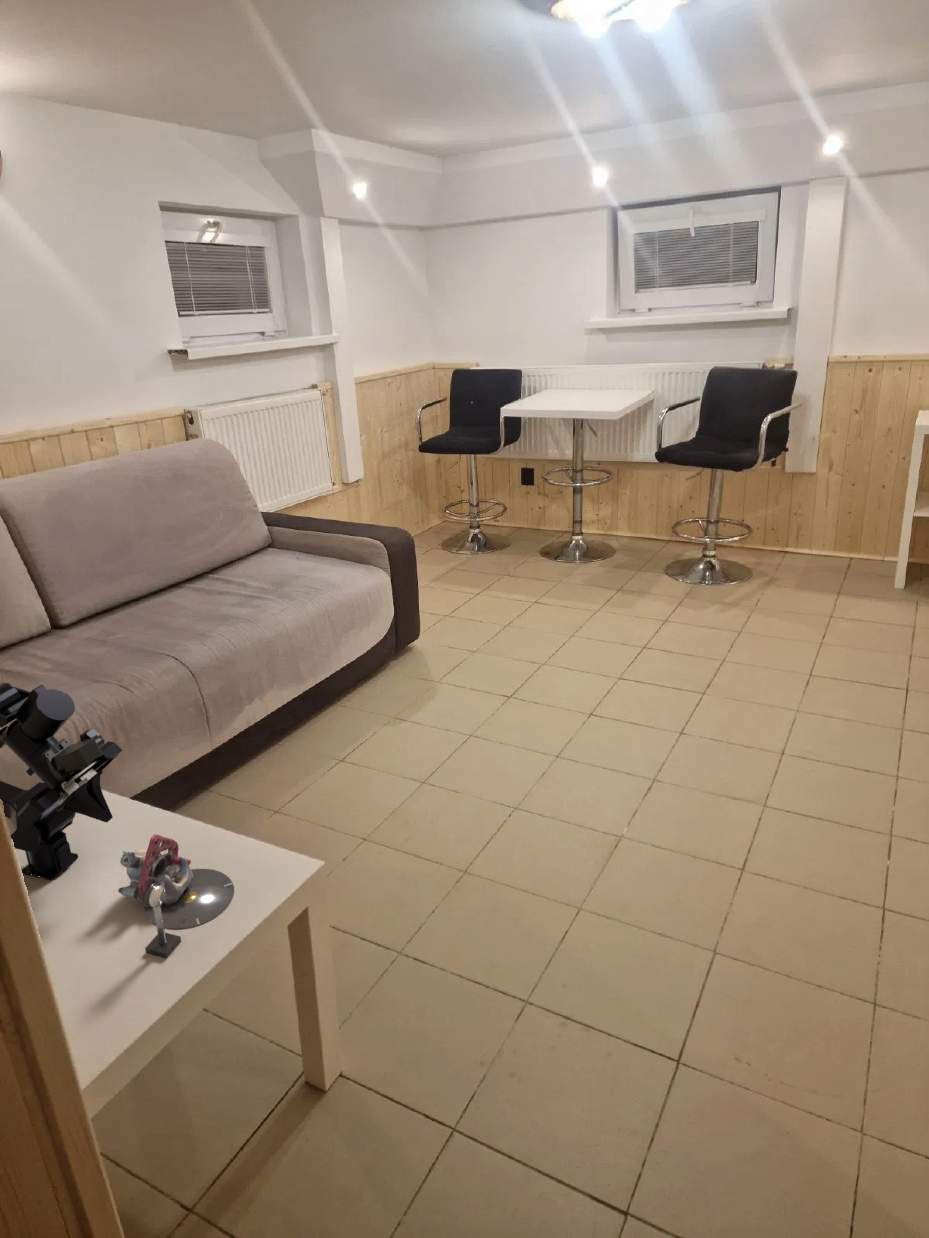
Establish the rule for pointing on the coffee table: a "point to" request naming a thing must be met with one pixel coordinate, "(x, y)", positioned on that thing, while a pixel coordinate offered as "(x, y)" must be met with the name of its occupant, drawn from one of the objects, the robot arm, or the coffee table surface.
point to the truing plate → (197, 901)
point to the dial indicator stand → (159, 923)
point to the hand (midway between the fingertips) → (109, 819)
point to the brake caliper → (156, 870)
